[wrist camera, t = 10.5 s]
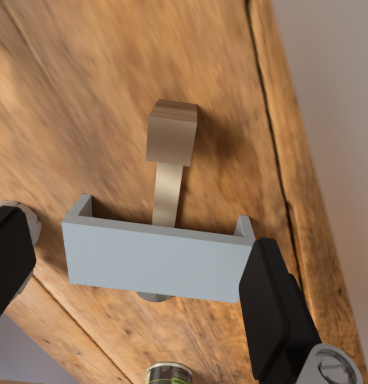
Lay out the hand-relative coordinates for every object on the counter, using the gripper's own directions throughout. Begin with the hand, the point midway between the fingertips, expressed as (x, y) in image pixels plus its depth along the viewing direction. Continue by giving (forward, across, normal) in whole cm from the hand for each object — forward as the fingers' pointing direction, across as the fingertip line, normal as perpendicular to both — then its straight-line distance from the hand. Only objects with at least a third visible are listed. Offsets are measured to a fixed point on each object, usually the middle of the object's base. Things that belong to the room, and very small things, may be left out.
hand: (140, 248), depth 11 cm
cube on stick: (+20, 0, +8) cm, 22 cm away
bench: (+20, 0, +16) cm, 26 cm away
